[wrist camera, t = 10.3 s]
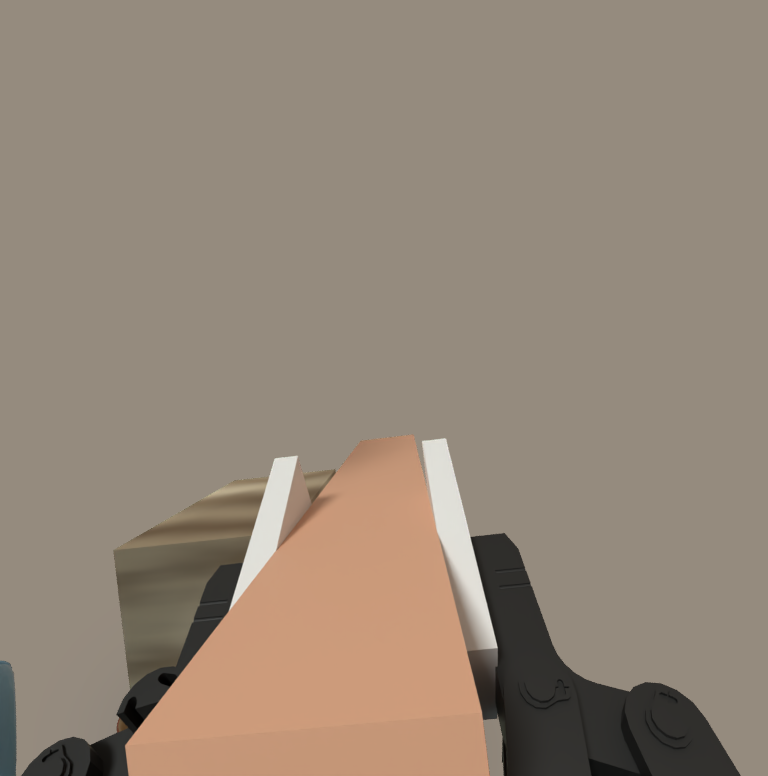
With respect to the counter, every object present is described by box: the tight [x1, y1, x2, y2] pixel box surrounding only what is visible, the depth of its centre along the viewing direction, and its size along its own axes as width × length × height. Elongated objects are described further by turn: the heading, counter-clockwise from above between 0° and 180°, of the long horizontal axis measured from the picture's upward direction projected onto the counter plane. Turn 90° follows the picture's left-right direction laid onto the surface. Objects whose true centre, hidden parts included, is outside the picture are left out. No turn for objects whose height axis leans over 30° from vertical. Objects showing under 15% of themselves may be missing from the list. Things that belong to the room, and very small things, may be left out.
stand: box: [114, 469, 336, 690], centre depth 34 cm, size 18×10×30 cm, turn 178°
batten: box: [125, 435, 490, 776], centre depth 19 cm, size 28×4×4 cm, turn 178°
